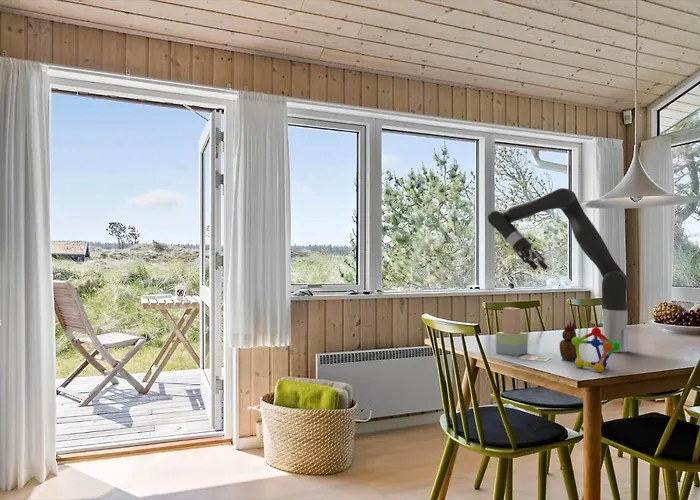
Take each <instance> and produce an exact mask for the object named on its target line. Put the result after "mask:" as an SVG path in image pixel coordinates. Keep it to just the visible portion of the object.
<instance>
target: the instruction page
mask: <svg viewBox="0 0 700 500" xmlns="http://www.w3.org/2000/svg"><path fill="white" fill-rule="evenodd" d="M551 359H552V358H551V357H545V356H543V357H542V356H536V355H526V354H523V355H522V356H520V357H518V360H525V361H526V360H527V361H534V362H543V363H546V362H548V361H550V360H551Z"/></svg>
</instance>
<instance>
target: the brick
mask: <svg viewBox="0 0 700 500" xmlns="http://www.w3.org/2000/svg"><path fill="white" fill-rule="evenodd" d="M521 314H522V310H521V308H518V307H511V306H509V307H503V309H502V332H503V333H507V334H519V333H520V332H521V318H522V315H521Z"/></svg>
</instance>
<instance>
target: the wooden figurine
mask: <svg viewBox="0 0 700 500" xmlns="http://www.w3.org/2000/svg"><path fill="white" fill-rule="evenodd" d="M575 329H576V320H575V319H574V320H573V322H572V321H569V324H567V325H566V326H564V330H563V331H562V333H561V335H562V338H563V339H562V340H560V342H559V352H560V356H561V359H562V360H564V361H570V362H571V361H576V360H577V353H576V347H575V345H573V344H572V338H574V337H577V333H576V331H575ZM578 347H580V345H578Z"/></svg>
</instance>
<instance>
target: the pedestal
mask: <svg viewBox="0 0 700 500" xmlns="http://www.w3.org/2000/svg"><path fill="white" fill-rule="evenodd" d="M528 335H529V334H528V333H527V332H521V331H520V333H519V334H507V333H503V331H499V332H496V335H495V336H496V337H495V338H496V339H495V341H496V342H495V353H496V354H502V355H509V356H515V357H518V356H521V355H522V356H523V355H526V354H528Z"/></svg>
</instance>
